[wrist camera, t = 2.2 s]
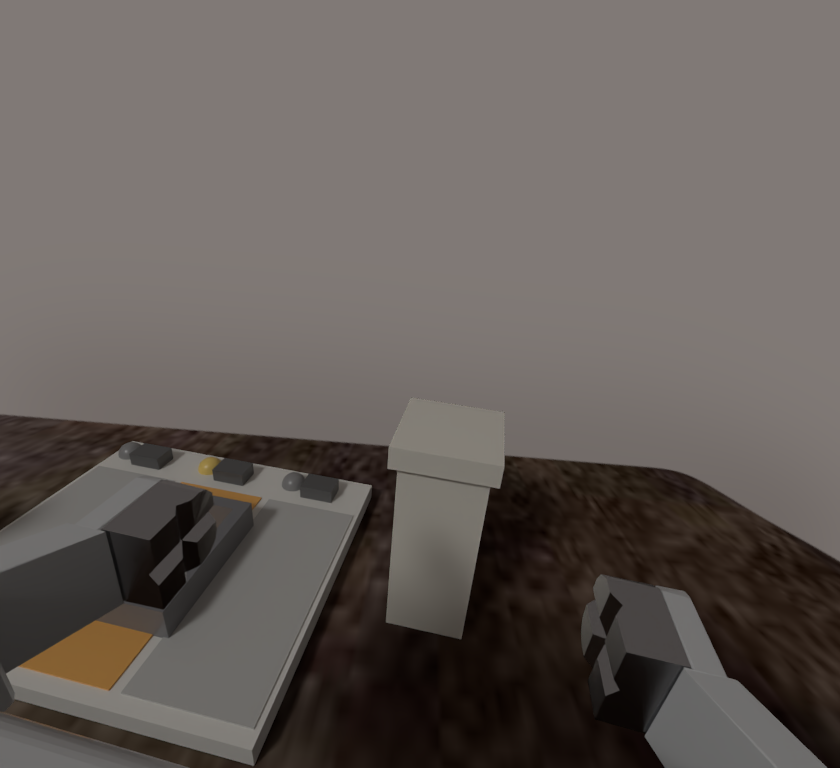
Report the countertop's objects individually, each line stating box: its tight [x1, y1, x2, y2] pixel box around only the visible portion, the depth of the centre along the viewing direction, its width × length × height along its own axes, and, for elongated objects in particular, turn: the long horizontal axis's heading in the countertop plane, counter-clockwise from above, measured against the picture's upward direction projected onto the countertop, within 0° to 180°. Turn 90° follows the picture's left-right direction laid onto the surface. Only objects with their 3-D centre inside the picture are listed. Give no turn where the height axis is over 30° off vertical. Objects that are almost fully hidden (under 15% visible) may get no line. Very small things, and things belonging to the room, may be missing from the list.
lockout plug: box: [386, 398, 505, 639], centre depth 24 cm, size 5×5×12 cm
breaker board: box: [0, 441, 372, 766], centre depth 27 cm, size 21×18×3 cm
